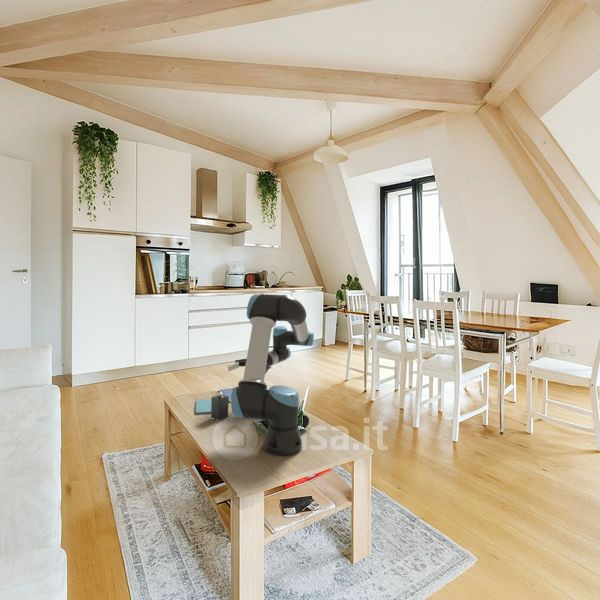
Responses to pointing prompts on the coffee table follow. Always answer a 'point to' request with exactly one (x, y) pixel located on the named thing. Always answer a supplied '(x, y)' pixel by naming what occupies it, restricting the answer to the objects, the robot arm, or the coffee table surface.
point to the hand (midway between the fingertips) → (238, 372)
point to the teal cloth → (203, 406)
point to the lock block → (219, 406)
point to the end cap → (305, 421)
